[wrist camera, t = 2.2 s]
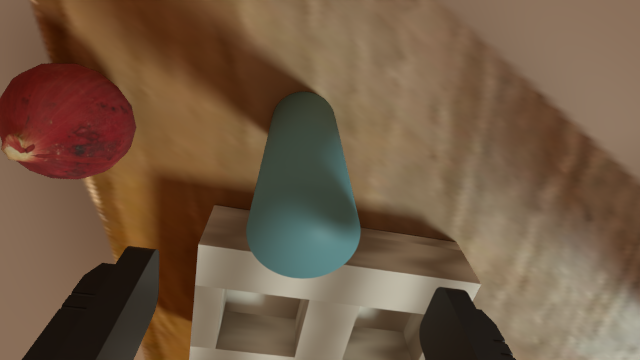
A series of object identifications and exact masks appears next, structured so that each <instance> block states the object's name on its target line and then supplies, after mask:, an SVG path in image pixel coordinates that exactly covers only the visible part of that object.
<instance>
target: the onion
mask: <svg viewBox="0 0 640 360" xmlns="http://www.w3.org/2000/svg"><path fill="white" fill-rule="evenodd" d="M135 130H136V125H135V120H134V116H133V111H132V107H131V105H130V103H129V102H128V101H127V99H126V98H125V96H124V95H123V94H122V92H121V91H120V90H119V88H118V87H117V86H116V85H114V84H113V83H112V82H111V81H109V80H108V79H107V78H105V77H104V76H103V75H102V74H100V73H99V72H97V71H94V70H92V69H89V68H86V67H84V66H81V65H78V64H61V63H51V64H40V65H38V66H36V67H34V68H32V69H29V70H27V71H25V72H23V73H21V74H19V75H18V76H16V77H15V78H13V79H12V81H11V82H10V84H9V85H8V87H7V88H6V90H5V91H4V93H3V94H2V96H1V98H0V137H1V140H2V148H1V150H2V151H3V152H4V153H5V154H6V155H7V157H8V159H9V160H16V161H17V162H19V163H20V164H22V165H23V166H24V167H26V168H27V169H29V170H30V171H33V172H36V173H38V174H41V175H44V176H47V177H50V178H60V179H81V178H86V177H89V176H92V175H95V174H99V173H102V172H104V171H106V170H108V169H109V168H111V167H112V166H113V165H114V164H116V163H117V162H118V161H119V160H120V159H121V158H122V157H123V156H124V155H125V154H126V153H127V152H128V150H129V148H130V147H131V144H132V141H133V137H134V133H135Z"/></svg>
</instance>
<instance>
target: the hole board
mask: <svg viewBox="0 0 640 360" xmlns="http://www.w3.org/2000/svg"><path fill="white" fill-rule="evenodd" d="M249 213H250V210H244V209H237V208H231V207H224V206H218V205H214V207H213V210H212V212H211V215H210V217H209V220H208V222H207V224H206V227H205V229H204V232H203V234H202V237H201V239H200V242H199V244H198V256H197V269H196V282H195V295H194V307H193V320H192V333H191V345H190V358H189V360H425V357H424V354H423V351H422V348H421V345H420V339H419V329H420V324H421V321H422V319H423V317H424V314H425V312H426V310H427V308H428V306H429V303H430V301H431V299H432V297H433V294H434V292H435V290H436V289H437V288H438V287H446V288H454V289H462V290H465V291H466V292H467V293H468V294H469V296H470V298H471V300H472V301H473V299H474V297H475V295H476V293H477V291H478V290H479V288H480V286H481V283H480V281H479V279H478V278H477V276H476V274H475V273H474V271H473V269H472V268H471V266H470V264H469V262H468V261H467V259H466V257H465V256H464V254H463V252H462V251H461V249H460V247H459V245H458V244H457V242H451V241H445V240H438V239H432V238H425V237H419V236H412V235H406V234H399V233H393V232H386V231H380V230H373V229H367V228H360V230H361V232H360V240H359V244H358V246H357V249H356V250H355V252H354V254H353V255H352V256H351V258H350V259H349V260H348V261H347V262H346V263H345V264H344V265H343V266H341V267H340V268H338V269H337V270H335V271H333V272H331V273H329V274H326V275H323V276H320V277H315V278H306V279H300V278H291V277H286V276H283V275H280V274H277V273H275V272H273V271H271V270H269V269H268V268H266V267H265V266H264V265H262V264H261V263H260V262H259V261H258V260H257V259H256V257H255V256H254V255H253V253H252V252H251V250H250V247H249V245H248V242H247V236H246V227H247V222H248V218H249Z"/></svg>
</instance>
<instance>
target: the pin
mask: <svg viewBox="0 0 640 360" xmlns="http://www.w3.org/2000/svg"><path fill="white" fill-rule="evenodd" d="M360 232H361V230H360V222H359V218H358V214H357V209H356V205H355V201H354V197H353V192H352V188H351V184H350V179H349V175H348V171H347V166H346V162H345V158H344V153H343V149H342V145H341V140H340V136H339V132H338V127H337V123H336V119H335V115H334V112H333V109H332V108H331V106H330V105H329V103H328V102H327V101H326V100H325V99H324V98H322V97H321V96H319V95H317V94H314V93H311V92H297V93H293V94H290V95H288V96H287V97H285V98H284V99H282V100H281V101H280V102H279V104H278V105H277V106H276V108H275V110H274V113H273V117H272V121H271V125H270V129H269V133H268V138H267V142H266V146H265V150H264V154H263V159H262V163H261V167H260V171H259V175H258V180H257V184H256V188H255V192H254V197H253V201H252V205H251V209H250V213H249V218H248V222H247V227H246V236H247V242H248V245H249V247H250V250H251V252H252V253H253V255H254V256H255V257H256V259H257V260H258V261H259V262H260V263H261V264H262V265H264V266H265V267H266V268H268V269H269V270H271V271H273V272H275V273H277V274H280V275H283V276H286V277H291V278H300V279H306V278H315V277H320V276H323V275H326V274H329V273H331V272H333V271H335V270H337V269H338V268H340V267H341V266H343V265H344V264H345V263H346V262H347V261H348V260H349V259H350V258H351V256H352V255H353V254H354V252H355V250H356V249H357V246H358V244H359V240H360Z"/></svg>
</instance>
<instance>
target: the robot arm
mask: <svg viewBox="0 0 640 360" xmlns="http://www.w3.org/2000/svg"><path fill="white" fill-rule="evenodd" d="M158 292H159V251H158V250H156V249H148V248H141V247H133V246H128V247H127V248H126V249H125V250H124V252H123V254H122V255H121V257H120V258H119V260H118V261H117V263H116V264H107V263H102V264H100V265H99V266H97V267H96V268H94V269H93V270H91V271H90V272H88V273H87V274H85V275H84V276H83V277H82V279H81V280H80V281H79V283H78V284H77V285H76V287H75V288H74V289H73V291H72V294H71V295H69V296H68V298H67V299H66V300H65V302H64V303H63V305H62V307H61V309H59V310H58V311H57V313H56V314H55V316H54V317H53V318H52V319H51V321H50V322H49V323H48V325H47V326H46V328H45V329H44V330H43V332H42V333H41V334H40V336H39V337H38V338H37V340H36V341H35V342H34V344H33V345H32V347H31V348H30V349H29V351H28V352H27V353H26V355H25V356H24V358H23V359H22V360H133V359H134V357H135V355H136V353H137V351H138V348H139V346H140V344H141V342H142V339H143V337H144V335H145V332H146V330H147V328H148V326H149V323H150V321H151V319H152V317H153V314H154V311H155V308H156V304H157V300H158ZM419 339H420V345H421V348H422V351H423V354H424V357H425V360H516V359H515V358H513V356H512V355H513V354H512V352H511V350H510V349H509V347H508V345H507V344H505V340H504V338H503V336H502V335H501V333H500V331H499V329H498V328H497V326H496V324H495V323H494V322H493V321H492V320H491V319H490V318H489V317H488V316H487V315H486V314H485V313H484V312H483V311H482V310H479V309H476V307H475V305H474V303H473V302H472V300H471V298H470V296H469V294H468V293H467V292H466V291H465V290H462V289H454V288H446V287H438V288H437V289H436V290H435V292H434V294H433V297H432V299H431V301H430V303H429V306H428V308H427V310H426V312H425V314H424V317H423V319H422V321H421V324H420V329H419Z"/></svg>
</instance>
